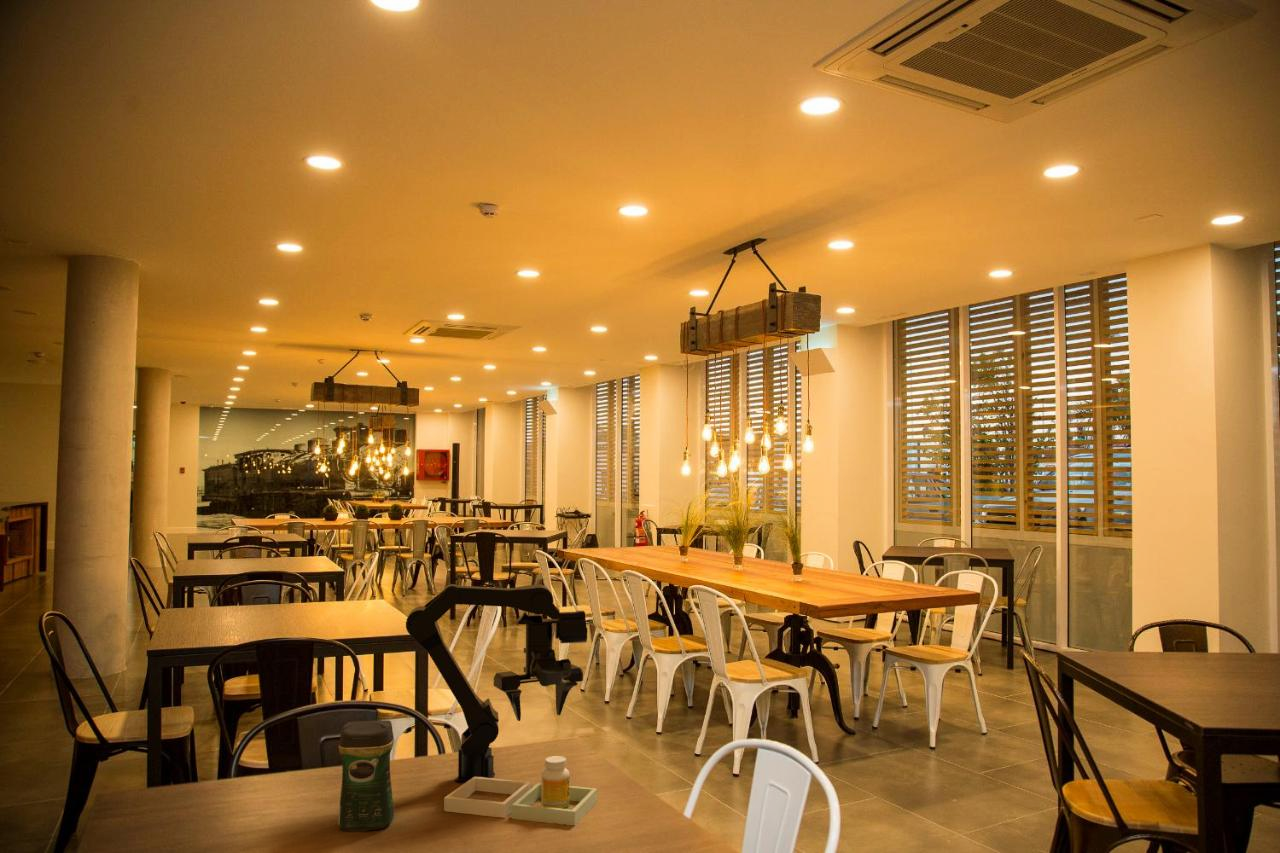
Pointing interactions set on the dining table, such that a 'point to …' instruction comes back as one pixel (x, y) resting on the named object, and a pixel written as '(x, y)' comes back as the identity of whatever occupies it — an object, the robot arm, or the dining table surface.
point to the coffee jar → (366, 775)
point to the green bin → (554, 815)
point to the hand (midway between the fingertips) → (538, 717)
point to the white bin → (482, 807)
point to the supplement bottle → (555, 783)
